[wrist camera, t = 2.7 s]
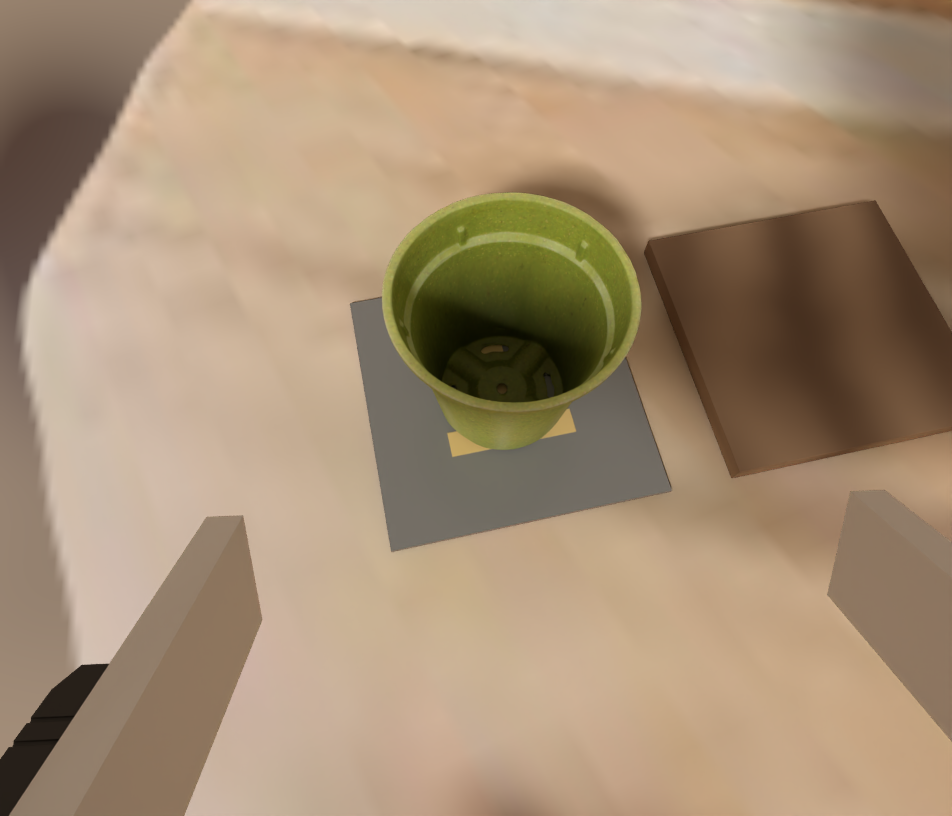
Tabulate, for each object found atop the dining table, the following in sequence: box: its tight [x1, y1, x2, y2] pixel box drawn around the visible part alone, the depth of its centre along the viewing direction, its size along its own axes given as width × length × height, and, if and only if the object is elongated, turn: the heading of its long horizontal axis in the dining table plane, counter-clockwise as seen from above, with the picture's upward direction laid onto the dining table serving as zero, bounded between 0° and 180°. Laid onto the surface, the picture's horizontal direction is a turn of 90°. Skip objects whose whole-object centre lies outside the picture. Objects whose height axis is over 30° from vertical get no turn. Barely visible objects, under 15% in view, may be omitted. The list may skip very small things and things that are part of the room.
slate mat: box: [350, 298, 672, 552], centre depth 31 cm, size 13×13×1 cm
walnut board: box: [644, 201, 952, 478], centre depth 32 cm, size 13×13×1 cm
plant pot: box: [382, 192, 641, 450], centre depth 27 cm, size 9×9×9 cm
